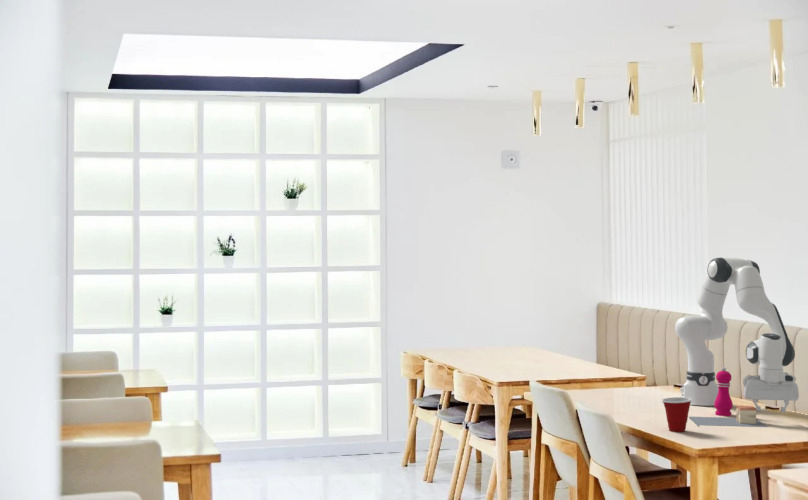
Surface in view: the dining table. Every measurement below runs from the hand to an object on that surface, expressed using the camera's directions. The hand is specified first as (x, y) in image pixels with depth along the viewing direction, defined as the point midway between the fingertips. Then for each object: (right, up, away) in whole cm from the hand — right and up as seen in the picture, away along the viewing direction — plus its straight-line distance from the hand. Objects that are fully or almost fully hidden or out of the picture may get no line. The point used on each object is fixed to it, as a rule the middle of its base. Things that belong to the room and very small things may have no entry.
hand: (770, 411), depth 373 cm
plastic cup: (-41, -5, -17) cm, 45 cm away
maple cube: (-9, -4, +1) cm, 10 cm away
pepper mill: (-12, -5, +18) cm, 23 cm away
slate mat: (-16, -5, +2) cm, 17 cm away
